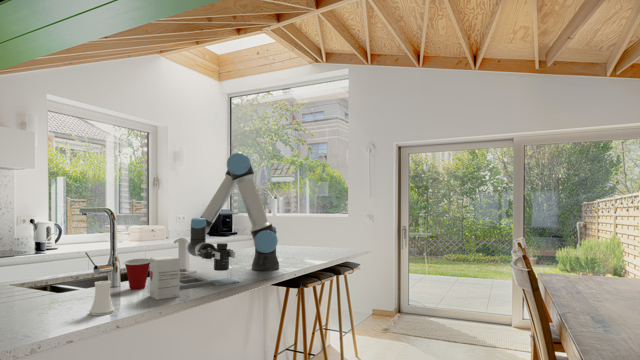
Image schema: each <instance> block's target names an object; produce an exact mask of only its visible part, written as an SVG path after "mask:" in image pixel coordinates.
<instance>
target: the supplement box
mask: <svg viewBox="0 0 640 360" xmlns="http://www.w3.org/2000/svg"><path fill="white" fill-rule="evenodd" d="M149 259H150V265H149V293H148V294H149V297H151V298H152V299H154V300H158V301H159V300H165V299H171V298H178V297H180V288H179V281H180V276H181V274H180V272H181V268H180V267H181V258H179V257H177V256H174V255H167V256H154V257H153V256H152V257H149Z"/></svg>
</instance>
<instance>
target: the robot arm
mask: <svg viewBox="0 0 640 360" xmlns="http://www.w3.org/2000/svg"><path fill="white" fill-rule="evenodd" d="M226 168H227V170H226V172H225V177H224V179H223V180H222V182H221V183H220V185H219V187H218V188H217V190H216V192H215V193H214V195H213V196H212V198H211V200H210V201H209V203H208V204H207V206H206V208H205V209H204V211H203V212H202V214H201V215H200V217H193V218H191V220H190V238H189V240H190V241H189V243H188V244H187V247H186V248H187V252H188V254H190V255H191V256H193V257H198V258H201V259H202V260H204V259H205V260H212V259H214V258H215V259H220V253H218V252H214V251H215V250H216V249H217V247H215V245H214V244H212V243H211V242H210V243H209V242H206V239H207V238H206V236H207V234H208V233H209V232H210V229H211V227H212V225H214V223H215V221H216V219H217V218H218V216H219V214H220V213H221V211H222V210H223V208H224V206H225V205H226V203H227V202H228V200H229V198H230V196H231V195H233V192H234V190H235V188H238V190H239V194H240V196H241V199H242V202H243V204H244V205H243V206H244V208H245V210H246V213H247V217H248V220H249V221H250V222H249V223H250V225H251V229H250V233H251V237H252V240H253V246H254V257H253V260H252V264H251V270H252V271H262V272H263V271H276V270H279V269H280V263H279V260H278V256H277V246H278V241H279V240H278V236H277V228H276V227H275V226H273V224H272V223H271V222H270V221H269V220H268V218H267V215H266V212H265V209H264V207H263V205H262V203H263V202H262V201H261V198H260V195H259V192H258V190H257V187H256V183H255V181H254V176H255V173H254V169H253V167H252V164H251V160H250V157H249V156H248V155H247V154H246V153H244V152H234V153H231V155H230V156H229V157H228V159H227V161H226ZM227 249H228V250H229V258H231V259H235V258H236V251H234V250H233V249H231V248H227Z"/></svg>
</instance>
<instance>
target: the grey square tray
mask: <svg viewBox="0 0 640 360" xmlns="http://www.w3.org/2000/svg"><path fill="white" fill-rule="evenodd" d="M207 286H213V284H212V281H209V279H207V278H203V277H200V276H198V277H189V278H183V279H180V281H179V290H186V289H192V288H199V287H207Z"/></svg>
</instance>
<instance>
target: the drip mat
mask: <svg viewBox="0 0 640 360" xmlns="http://www.w3.org/2000/svg"><path fill="white" fill-rule="evenodd" d="M208 280H209V279H208ZM209 281H212V286H215V287H218V286H225V285H233V284H239V283H240V281H239V280H235V279H233V278H229V277H225V278H218V279H211V280H209Z"/></svg>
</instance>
